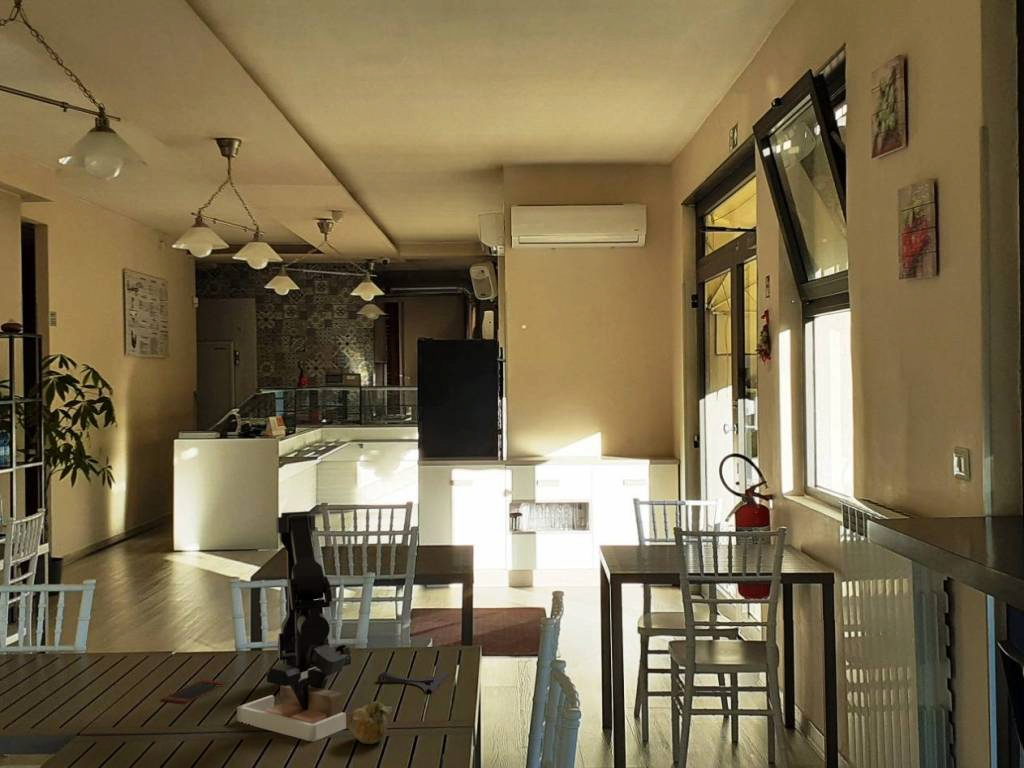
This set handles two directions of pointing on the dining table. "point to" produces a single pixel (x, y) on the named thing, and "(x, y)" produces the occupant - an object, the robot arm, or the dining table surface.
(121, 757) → the dining table surface
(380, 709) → the onion
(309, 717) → the tile
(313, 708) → the bar
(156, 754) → the dining table surface
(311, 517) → the robot arm
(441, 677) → the bracket
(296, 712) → the tile
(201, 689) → the smartphone
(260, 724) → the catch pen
